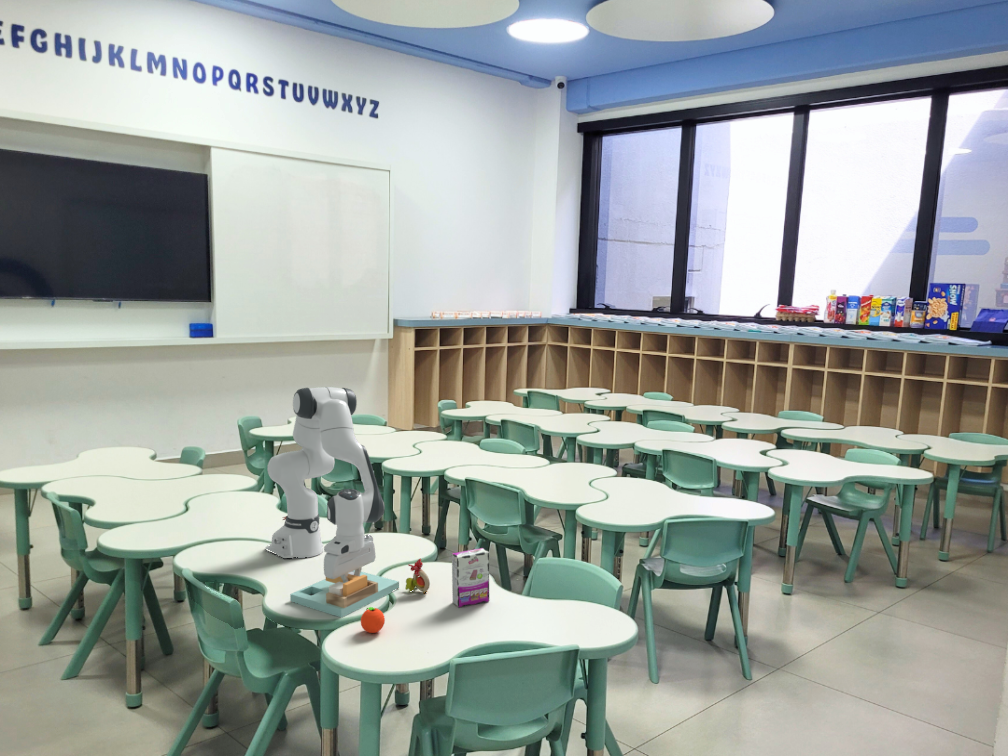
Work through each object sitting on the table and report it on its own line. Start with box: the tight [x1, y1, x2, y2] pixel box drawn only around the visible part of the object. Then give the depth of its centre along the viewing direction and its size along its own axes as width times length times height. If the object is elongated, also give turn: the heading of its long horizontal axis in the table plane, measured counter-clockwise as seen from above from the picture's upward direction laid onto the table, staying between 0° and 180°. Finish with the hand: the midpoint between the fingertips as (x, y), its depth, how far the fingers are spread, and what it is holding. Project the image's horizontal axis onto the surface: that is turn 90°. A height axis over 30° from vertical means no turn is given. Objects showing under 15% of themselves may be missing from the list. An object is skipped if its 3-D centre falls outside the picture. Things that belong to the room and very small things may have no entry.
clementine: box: [360, 606, 386, 634], centre depth 223 cm, size 8×7×7 cm
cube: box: [329, 582, 344, 596], centre depth 240 cm, size 4×4×4 cm
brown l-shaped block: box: [326, 580, 378, 608], centre depth 242 cm, size 8×15×3 cm, turn 148°
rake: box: [325, 574, 367, 597], centre depth 244 cm, size 16×9×4 cm, turn 58°
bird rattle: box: [405, 558, 431, 594], centre depth 253 cm, size 6×11×9 cm
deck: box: [289, 570, 400, 618], centre depth 250 cm, size 22×27×2 cm
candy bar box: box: [451, 547, 490, 608], centre depth 244 cm, size 11×5×16 cm, turn 117°
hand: (351, 583), depth 245 cm, fingers closed on rake, 3 cm apart
